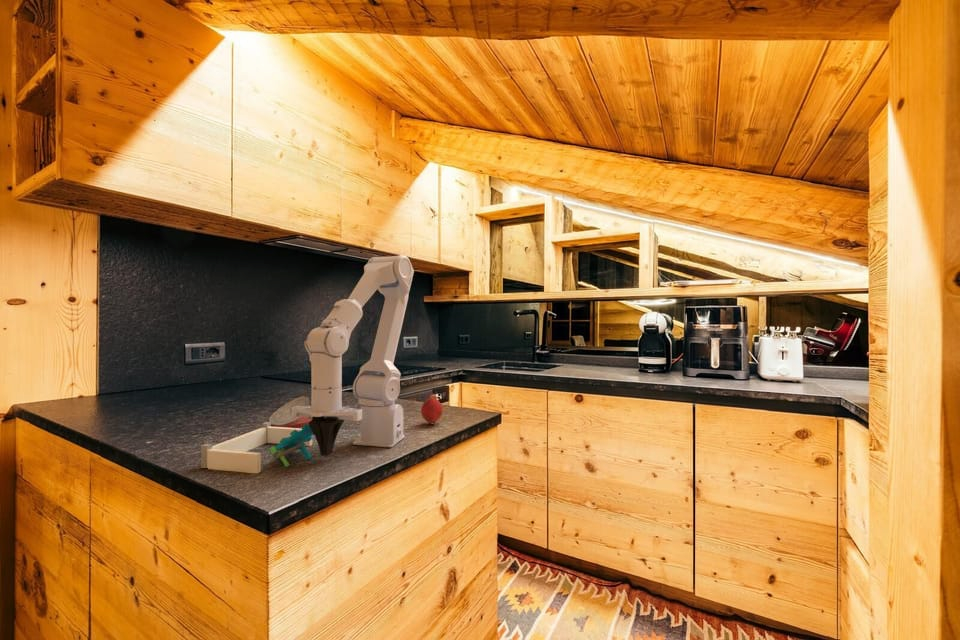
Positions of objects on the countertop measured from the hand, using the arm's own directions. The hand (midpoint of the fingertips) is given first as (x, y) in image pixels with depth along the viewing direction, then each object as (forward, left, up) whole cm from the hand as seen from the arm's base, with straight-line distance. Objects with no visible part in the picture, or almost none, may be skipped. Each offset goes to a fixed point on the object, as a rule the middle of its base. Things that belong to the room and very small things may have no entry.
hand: (326, 454), depth 81 cm
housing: (+15, 0, -1) cm, 16 cm away
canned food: (+21, -17, -2) cm, 27 cm away
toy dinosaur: (+7, 0, -2) cm, 7 cm away
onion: (-12, -31, -2) cm, 33 cm away
